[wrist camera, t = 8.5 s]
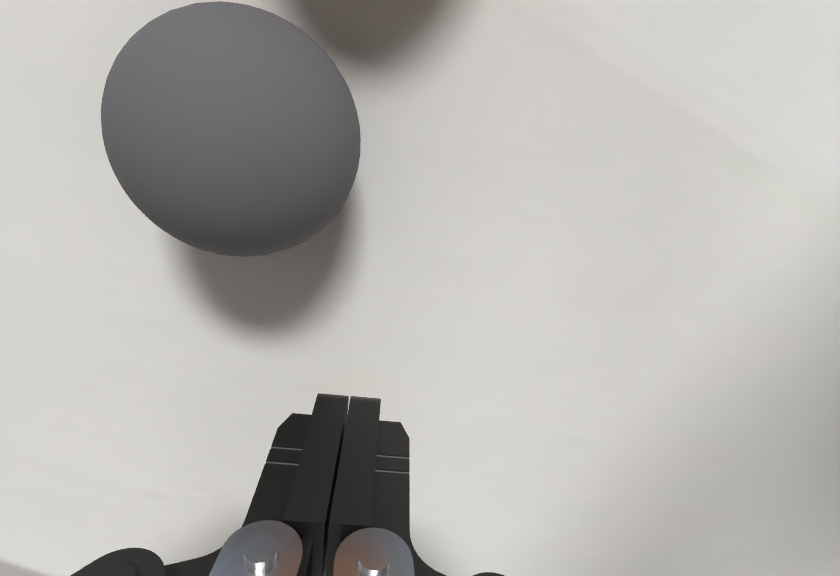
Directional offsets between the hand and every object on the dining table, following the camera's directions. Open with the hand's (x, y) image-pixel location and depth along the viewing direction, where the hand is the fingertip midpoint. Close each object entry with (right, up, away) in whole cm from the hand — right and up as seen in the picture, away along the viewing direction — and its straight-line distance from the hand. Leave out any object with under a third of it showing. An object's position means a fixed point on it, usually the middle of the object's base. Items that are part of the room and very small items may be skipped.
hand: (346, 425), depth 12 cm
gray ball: (-2, +7, 0) cm, 7 cm away
